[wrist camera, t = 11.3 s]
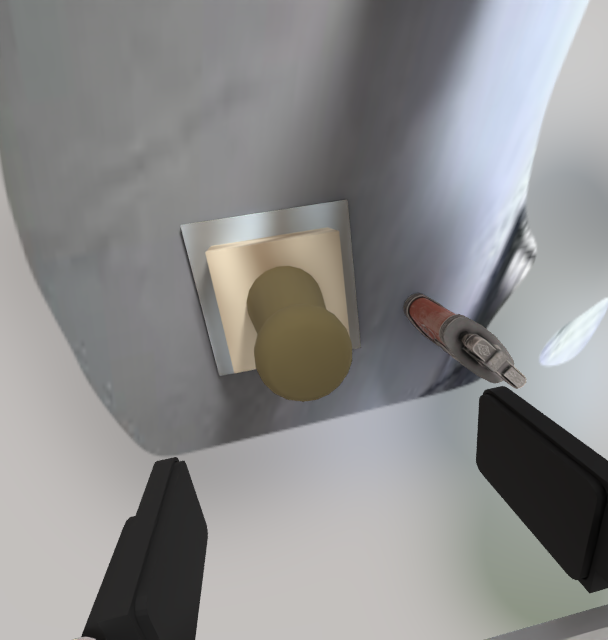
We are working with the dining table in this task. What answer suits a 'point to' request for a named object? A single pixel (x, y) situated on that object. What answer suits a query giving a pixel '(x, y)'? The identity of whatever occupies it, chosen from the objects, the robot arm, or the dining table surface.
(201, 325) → the dining table surface
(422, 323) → the lighter
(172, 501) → the robot arm
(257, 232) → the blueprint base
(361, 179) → the dining table surface
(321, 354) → the olive brown knobbed peg
